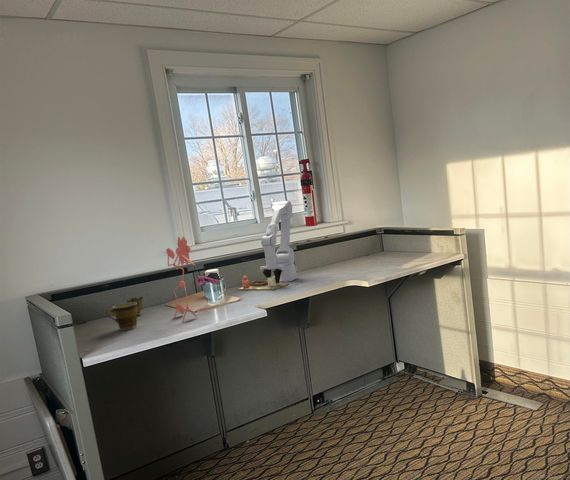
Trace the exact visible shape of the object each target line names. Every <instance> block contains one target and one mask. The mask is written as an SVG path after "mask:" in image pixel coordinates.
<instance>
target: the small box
mask: <svg viewBox="0 0 570 480" xmlns="http://www.w3.org/2000/svg"><path fill="white" fill-rule="evenodd" d="M210 273H217V274H218V276H219V277H220V271H219V268H213V269H212V268H211V269H207V270H206V271H204V277H205V276H208V275H209V274H210Z"/></svg>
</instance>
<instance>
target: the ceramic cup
mask: <svg viewBox="0 0 570 480" xmlns="http://www.w3.org/2000/svg"><path fill="white" fill-rule="evenodd" d="M108 312H111V313H113V314H114V317H115V318H113V317H111V316H109V315H108V314H107V313H108ZM105 316H106V317H107V318H109V319H111V320H113V321H115V322H116V324H117V325H118V328H119V330H120V331H122V332H123V331H129V330H134V329H135V328H137V324H138V323H137V321H138V319H137V318H138V316H137V303H136V302H128V303H127V302H122V303H118V304H115V305H113V306H112V309H107V310H106V311H105Z"/></svg>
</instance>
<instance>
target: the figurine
mask: <svg viewBox="0 0 570 480" xmlns="http://www.w3.org/2000/svg"><path fill="white" fill-rule="evenodd" d="M176 245H177V248H176V249H175V252H174V251H173V250H172V249H170V248H169V247H168V248H167V249H166V250H165V251H166V254H167V266H168V267H171V266H172V267H174V268H175V270H179V269H180V270H182V278H181V279H182V280H180V281H179V282H178V285H179V286H177V287H175V288H174V289H173V293H174V297H175V300H176V302H177V303H176V304H175V313H174V316H173V319H176V316H177V313H178V312H179V314H181V315H183V317H182V321H185V319H186V316H187V315H186V314H187V313H191V314H192V315H193V316H195V318H199V317H198V316H197V315H196V314H195V310H192V309H191V308H190V307H189V303H188V295H187V289H186V282H185V281H184V278H185V277H184V276H185V269H184V268H183V267H180V265H181V266H183V265H184V263H185V264H186V265H189V263H190V264H191V265H192V266H196V264H195V263H193V261H191V260H190V254H189V253H190V252H191V247H190V246H189V245H188V240H187V239H186V237H185V236H182V238H181V237H180V236H178V237H177V244H176ZM174 258H175V259H174ZM170 259H172V260H174V262H173V263H171V264H170ZM177 260H178V264H176V262H177ZM178 288H184V292H185V297H186V298H185V299H186V305H185V306H184V307H185V308H184V307H183V305H181V303H179V301H178V297H177V294H176V291H175V290H177V289H178ZM202 312H205V313H209V314H210V312H209V311H207V310H205V311H204V310H202Z"/></svg>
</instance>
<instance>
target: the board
mask: <svg viewBox="0 0 570 480" xmlns="http://www.w3.org/2000/svg"><path fill="white" fill-rule="evenodd" d="M289 285H290V283H280V285H277V286H268V281H267V280H253V281H249V288H243V286H242V287H240V288H238V291H277V290H278V289H281V288H284V287H286V286H289Z"/></svg>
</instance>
